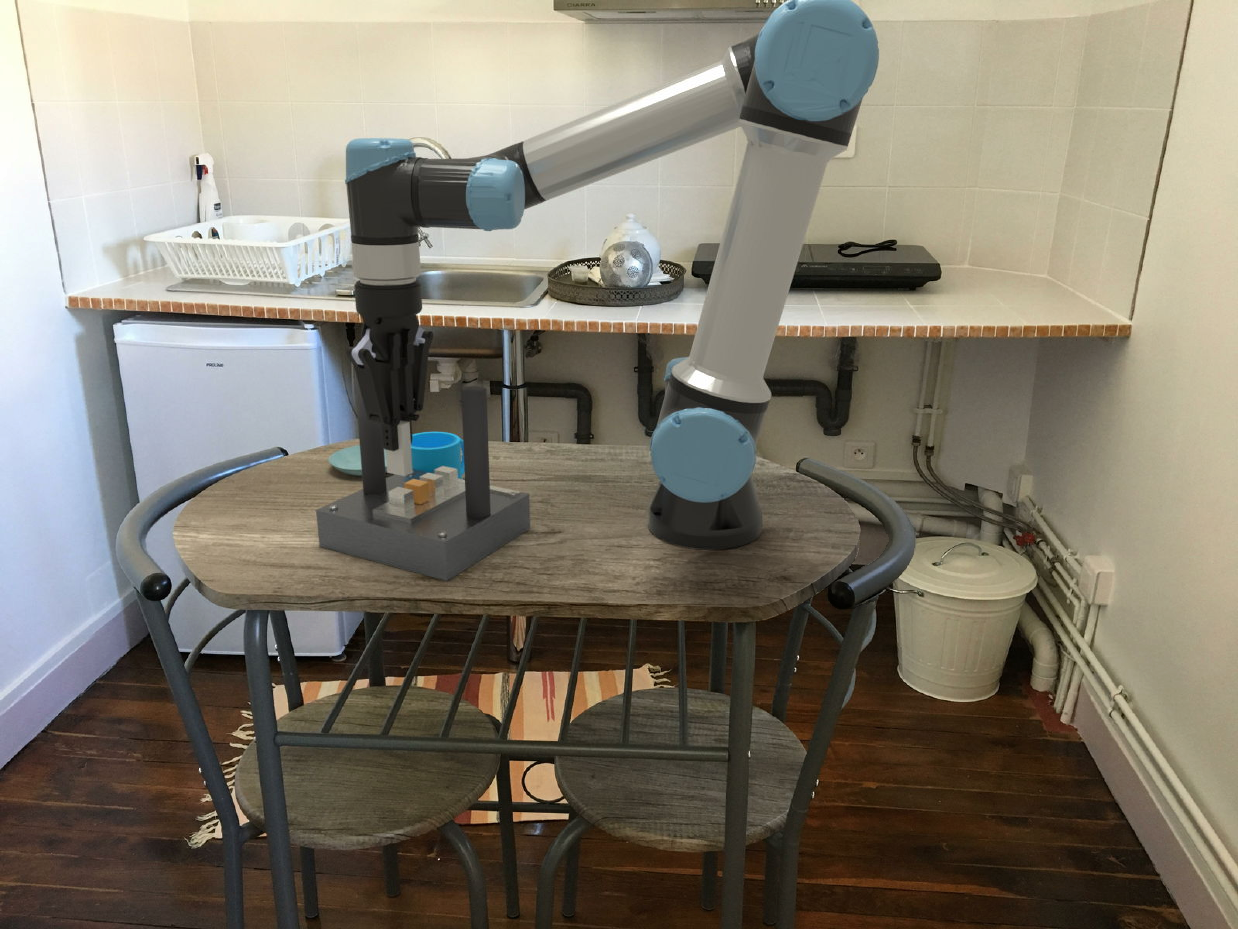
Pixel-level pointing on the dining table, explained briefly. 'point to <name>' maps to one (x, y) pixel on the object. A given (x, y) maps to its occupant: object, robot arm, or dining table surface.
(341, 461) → the saucer
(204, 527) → the dining table surface
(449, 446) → the mug
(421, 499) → the orange cube
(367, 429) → the dark grey upright post
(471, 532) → the breaker panel
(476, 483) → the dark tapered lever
